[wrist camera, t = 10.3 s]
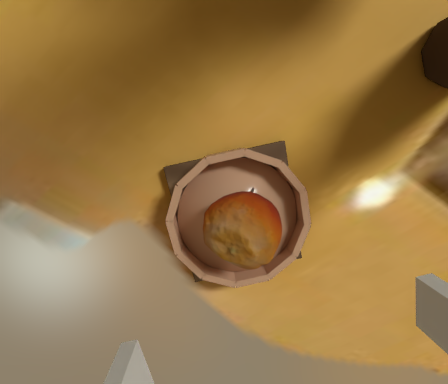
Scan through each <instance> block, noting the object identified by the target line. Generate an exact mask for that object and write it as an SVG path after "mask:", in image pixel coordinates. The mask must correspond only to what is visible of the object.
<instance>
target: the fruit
mask: <svg viewBox="0 0 448 384" xmlns="http://www.w3.org/2000/svg"><path fill="white" fill-rule="evenodd" d="M254 189H255V188H252V190H251V192H246V191H241V192H235V193H232V194H229V195H226V196H223V197H221V198H220V199H218V200H217V201H215V202H214V203H212V204H211V205H210V206H209V208H208V209H207V210H206V212H205V213H204V220H203V236H204V243H205V245H206V246H208V247H209V248H210V249H211V251H212V252H213V253H215V254H216V255H217V256H218V257H220V258H221V259H223V260H225V261H226V262H229V263H231V264H233V265H235V266H238V267H240V268H243V269H249V270H252V269H257V268H259V267H261V266H262V265H266V264H268V263H270V262H271V261H272V259H273V257H274V254H275V252H276V250H277V248H278V246H279V244H280V242H281V238H282V223H281V218H280V214H279V212H278V210H277V208H276V207H275V206H274V205H273V203H272V202H271V201H269V200H268V199H266V198H264V197H263V196H261V195H259V194H257V193H254Z"/></svg>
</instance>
